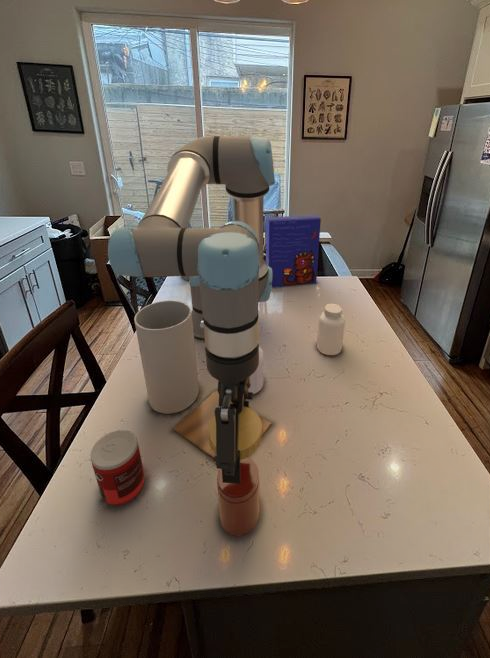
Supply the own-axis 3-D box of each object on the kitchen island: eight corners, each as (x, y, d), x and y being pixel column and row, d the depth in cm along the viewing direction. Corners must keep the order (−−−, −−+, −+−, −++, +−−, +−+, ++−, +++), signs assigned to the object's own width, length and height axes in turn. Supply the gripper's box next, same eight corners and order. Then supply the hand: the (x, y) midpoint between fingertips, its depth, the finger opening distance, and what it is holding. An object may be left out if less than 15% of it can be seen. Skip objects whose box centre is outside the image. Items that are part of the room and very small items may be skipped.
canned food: (110, 468, 68) (100, 430, 64) (150, 465, 69) (142, 428, 64) (94, 508, 61) (81, 469, 57) (138, 505, 62) (129, 466, 57)
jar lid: (272, 430, 55) (272, 421, 54) (238, 472, 48) (238, 463, 47) (233, 406, 59) (232, 397, 58) (197, 442, 52) (196, 432, 52)
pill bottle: (341, 358, 101) (346, 316, 95) (315, 354, 102) (318, 313, 97) (342, 342, 108) (346, 302, 102) (317, 338, 110) (321, 299, 104)
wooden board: (173, 429, 77) (173, 428, 76) (215, 392, 87) (215, 390, 87) (232, 472, 68) (232, 471, 67) (271, 424, 78) (271, 422, 78)
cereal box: (311, 277, 152) (316, 214, 141) (316, 283, 147) (320, 218, 135) (265, 281, 147) (266, 216, 136) (268, 287, 142) (269, 220, 130)
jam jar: (211, 519, 60) (207, 480, 56) (237, 485, 65) (235, 447, 61) (242, 545, 56) (240, 506, 52) (266, 507, 62) (267, 469, 58)
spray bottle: (268, 376, 93) (269, 301, 83) (255, 400, 85) (254, 320, 75) (239, 368, 96) (237, 295, 86) (224, 391, 88) (220, 312, 78)
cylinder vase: (147, 385, 89) (133, 306, 79) (194, 373, 94) (186, 296, 84) (150, 422, 78) (134, 335, 69) (203, 406, 83) (195, 322, 73)
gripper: (222, 302, 56) (227, 401, 65) (180, 401, 37) (196, 523, 46) (266, 304, 56) (265, 403, 65) (247, 405, 36) (250, 527, 45)
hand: (237, 452), depth 55 cm, fingers closed on jar lid, 8 cm apart
